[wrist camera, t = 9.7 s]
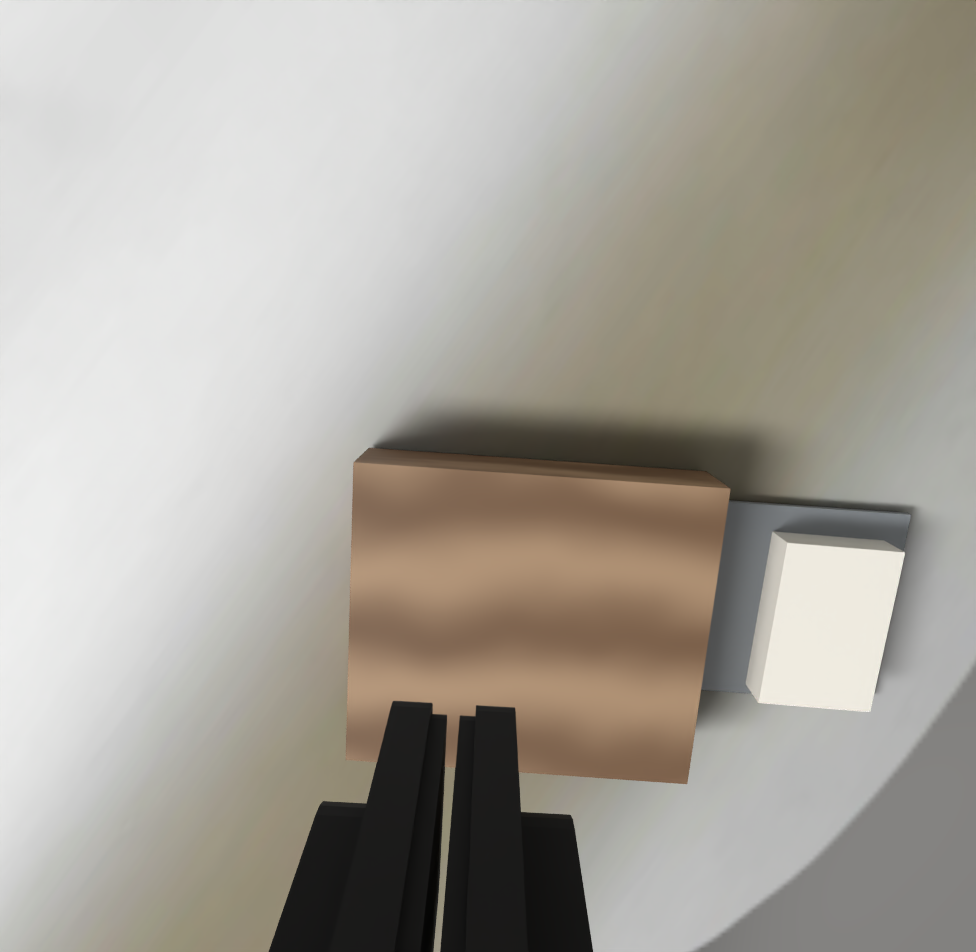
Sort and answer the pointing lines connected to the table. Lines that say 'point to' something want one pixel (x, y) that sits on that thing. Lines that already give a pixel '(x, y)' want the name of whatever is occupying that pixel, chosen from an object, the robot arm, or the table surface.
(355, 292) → the table surface
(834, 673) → the cream white rectangular block
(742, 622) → the mat
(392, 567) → the board
